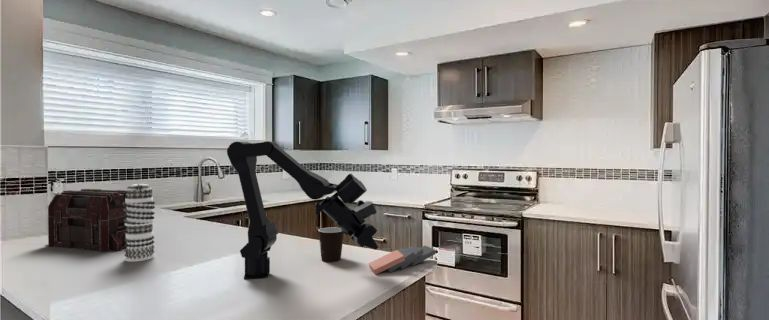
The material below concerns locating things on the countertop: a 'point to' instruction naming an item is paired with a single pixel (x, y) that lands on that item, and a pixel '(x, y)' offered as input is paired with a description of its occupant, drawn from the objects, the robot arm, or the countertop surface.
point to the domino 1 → (386, 261)
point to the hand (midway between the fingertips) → (376, 248)
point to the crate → (87, 220)
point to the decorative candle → (139, 222)
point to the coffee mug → (331, 243)
